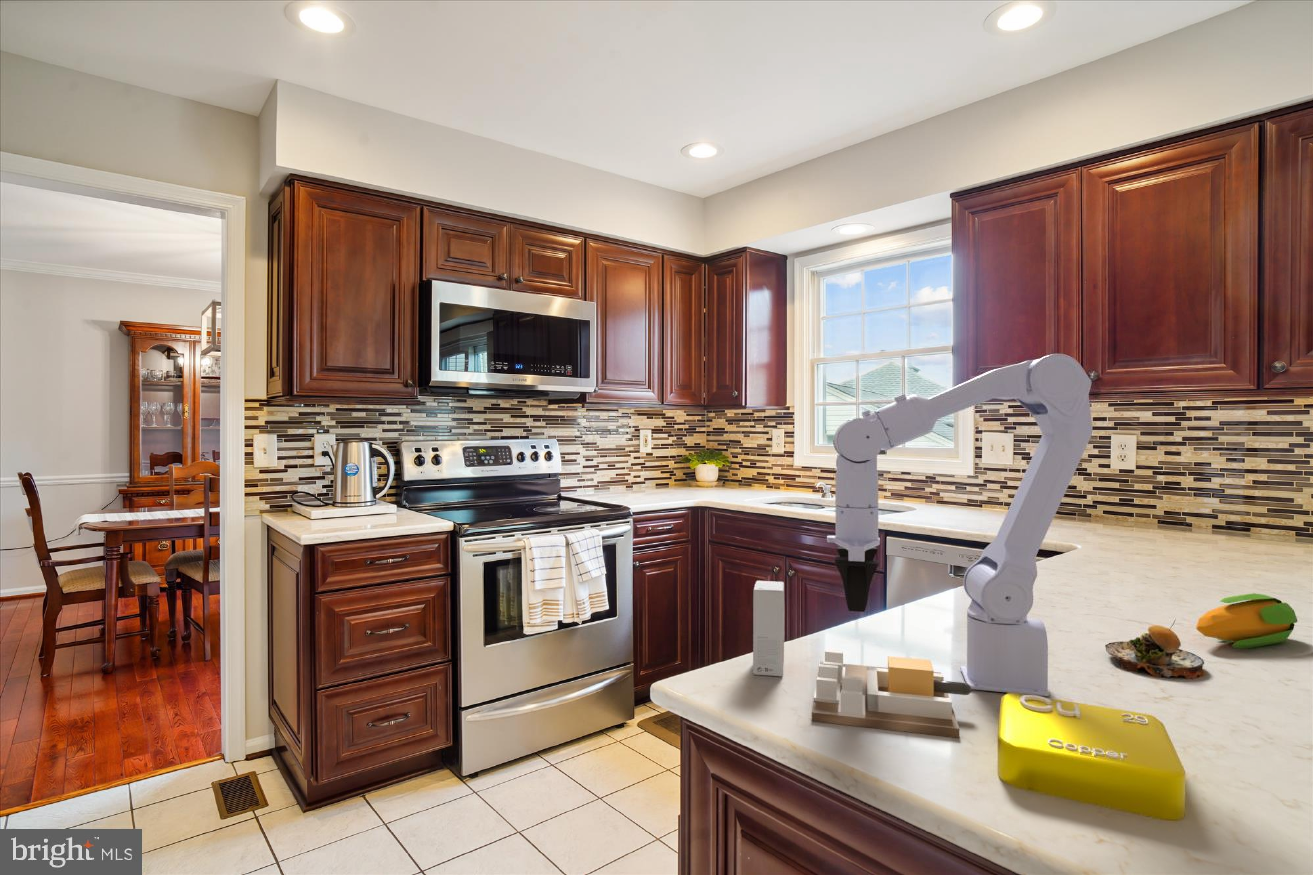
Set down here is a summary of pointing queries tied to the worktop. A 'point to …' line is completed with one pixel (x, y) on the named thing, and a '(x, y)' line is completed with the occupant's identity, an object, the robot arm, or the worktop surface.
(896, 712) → the frame
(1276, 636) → the corn
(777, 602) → the skincare box
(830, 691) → the clip
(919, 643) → the worktop surface
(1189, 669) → the burger
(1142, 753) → the element tile
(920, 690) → the block
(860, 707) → the clip
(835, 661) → the clip
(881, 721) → the board
